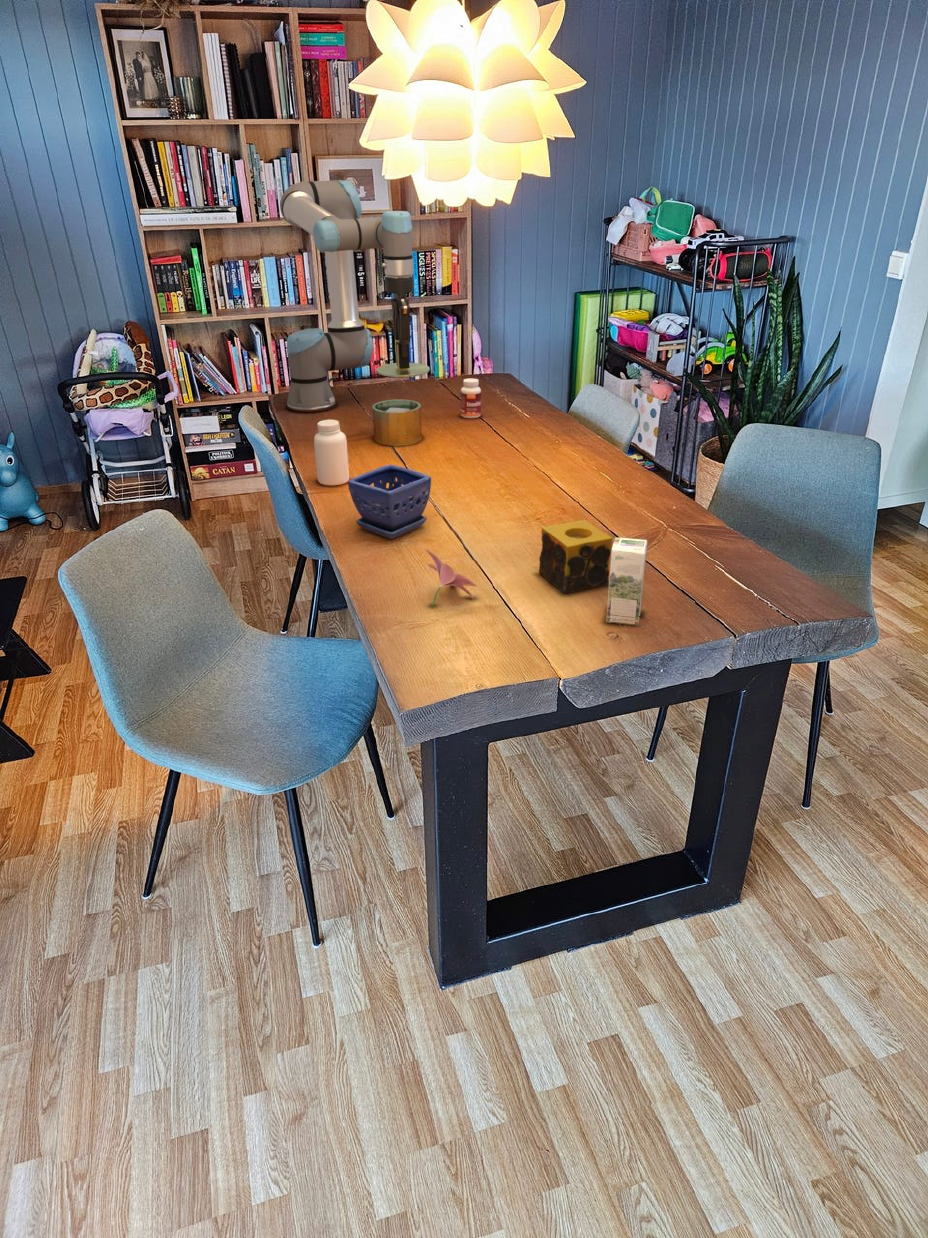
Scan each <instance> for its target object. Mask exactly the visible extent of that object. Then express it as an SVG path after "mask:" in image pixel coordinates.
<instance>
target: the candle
mask: <svg viewBox="0 0 928 1238" xmlns="http://www.w3.org/2000/svg"><path fill="white" fill-rule="evenodd" d="M540 532H541V543H542V545H541V551H540V555H539V566H538V574H539V575H541V577H543V578H544V579H545V580H546V581H547V582H548V583H550V584H551V585H552V586H553V587H555V588H556V589H558V590H559V591H560V592H561V593H562V594H569V593H574V592H579V591H584V590H589V589H592V588H597V587H600V586H607V585H609V577H610V562H611V559H610V558H611V552H612V546H613V544H612V543H613V538H612V537H611V536H610V535H609V534H607V533H605V532H604V531H602V530H601V529H600V528H598V527H596V526H595V525H594V524H592V523H591V522H589V521H588V520H587V519H581V520H577V521H570V522H564V523H560V524H559V523H558V524H552V525H548V526H543V527H541V529H540Z"/></svg>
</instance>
